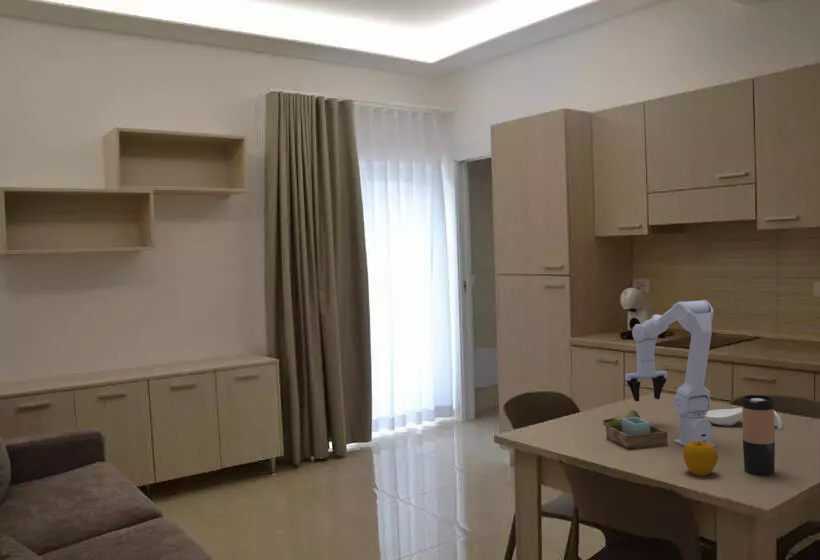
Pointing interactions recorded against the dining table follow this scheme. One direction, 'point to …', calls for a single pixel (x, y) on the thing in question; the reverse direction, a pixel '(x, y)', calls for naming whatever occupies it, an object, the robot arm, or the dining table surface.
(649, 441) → the crate
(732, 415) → the spoon rest
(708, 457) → the apple
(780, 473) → the dining table surface
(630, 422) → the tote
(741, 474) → the dining table surface
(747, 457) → the travel mug
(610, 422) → the fennel bulb
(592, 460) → the dining table surface
